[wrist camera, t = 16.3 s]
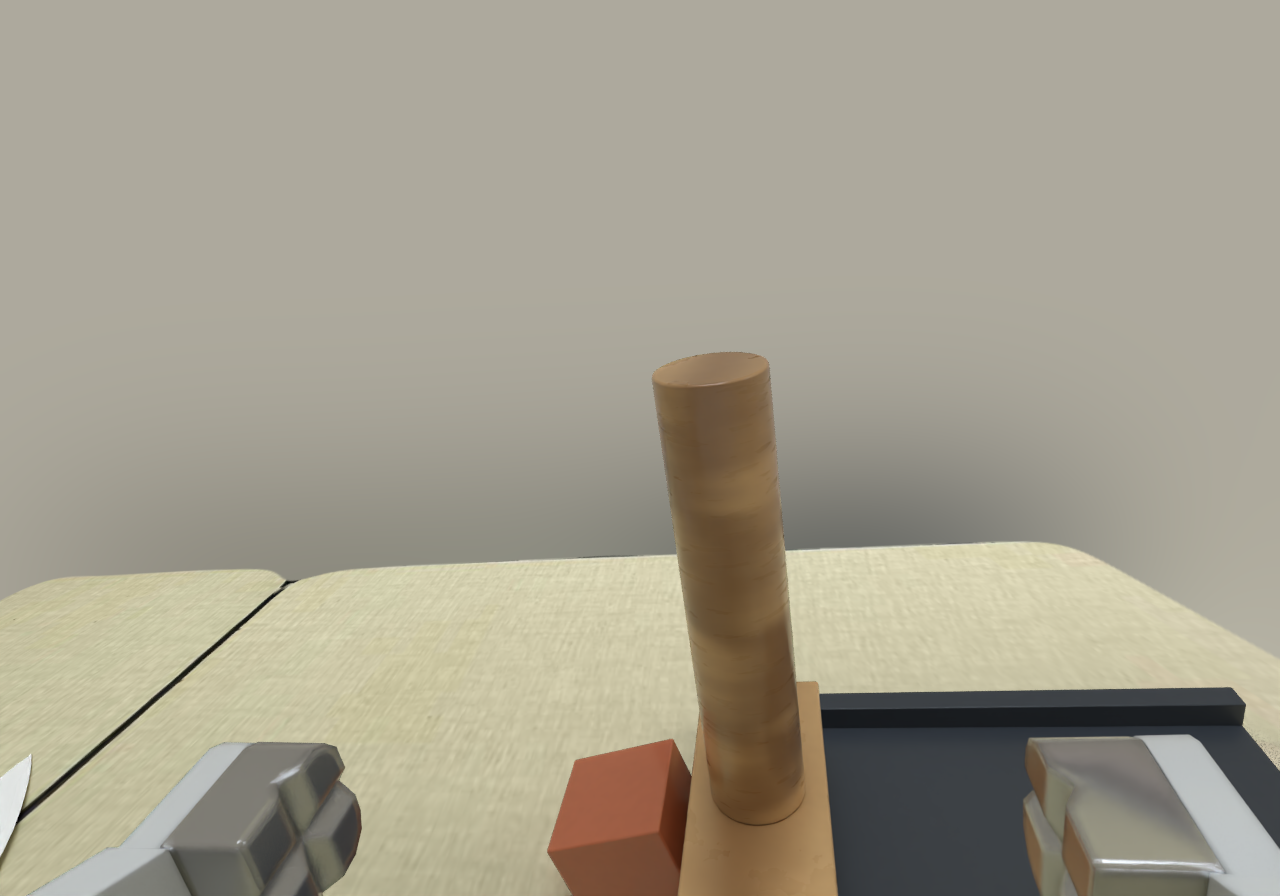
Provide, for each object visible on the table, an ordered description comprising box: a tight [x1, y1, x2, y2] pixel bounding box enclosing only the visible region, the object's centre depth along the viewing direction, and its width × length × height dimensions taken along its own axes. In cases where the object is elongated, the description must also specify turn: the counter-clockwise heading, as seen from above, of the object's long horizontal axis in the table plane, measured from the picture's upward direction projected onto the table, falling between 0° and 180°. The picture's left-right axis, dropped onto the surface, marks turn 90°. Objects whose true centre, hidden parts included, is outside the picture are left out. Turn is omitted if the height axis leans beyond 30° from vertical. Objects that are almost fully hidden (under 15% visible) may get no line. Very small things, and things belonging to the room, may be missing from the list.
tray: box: [819, 687, 1280, 896], centre depth 24 cm, size 20×16×2 cm
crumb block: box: [547, 739, 692, 896], centre depth 26 cm, size 4×4×4 cm
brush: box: [652, 352, 838, 896], centre depth 22 cm, size 4×10×18 cm, turn 172°
